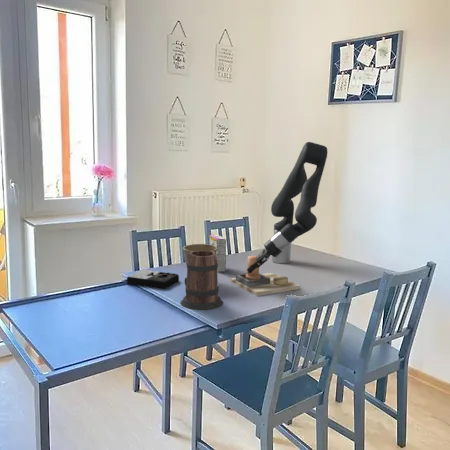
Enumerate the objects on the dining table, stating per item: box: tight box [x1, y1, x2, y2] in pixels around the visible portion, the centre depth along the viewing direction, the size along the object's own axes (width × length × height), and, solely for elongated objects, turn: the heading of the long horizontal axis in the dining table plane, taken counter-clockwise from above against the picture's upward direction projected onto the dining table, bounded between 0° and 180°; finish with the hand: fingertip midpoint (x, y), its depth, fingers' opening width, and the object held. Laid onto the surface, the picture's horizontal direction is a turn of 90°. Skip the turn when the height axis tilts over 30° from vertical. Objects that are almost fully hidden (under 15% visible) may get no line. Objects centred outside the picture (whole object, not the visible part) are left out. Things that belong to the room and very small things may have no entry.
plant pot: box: [182, 243, 217, 267], centre depth 207 cm, size 15×15×16 cm
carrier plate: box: [230, 272, 301, 297], centre depth 206 cm, size 22×22×4 cm
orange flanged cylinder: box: [245, 255, 261, 281], centre depth 204 cm, size 6×6×10 cm
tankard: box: [180, 251, 224, 311], centre depth 184 cm, size 24×17×20 cm
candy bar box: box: [208, 234, 227, 273], centre depth 229 cm, size 11×5×16 cm, turn 22°
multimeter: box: [126, 269, 180, 290], centre depth 207 cm, size 13×19×5 cm
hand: (248, 269), depth 205 cm, fingers closed on orange flanged cylinder, 5 cm apart
